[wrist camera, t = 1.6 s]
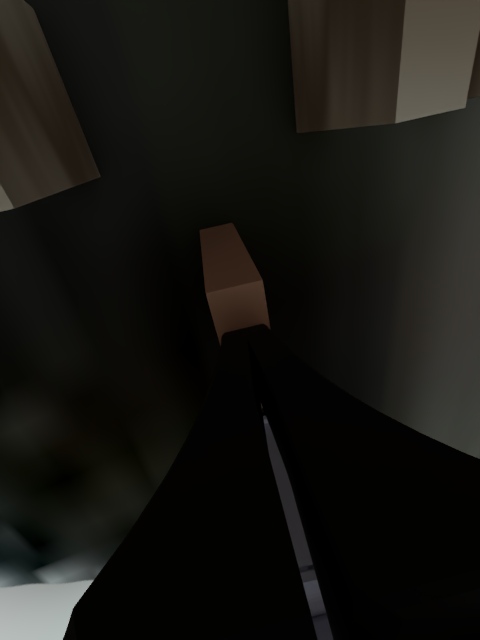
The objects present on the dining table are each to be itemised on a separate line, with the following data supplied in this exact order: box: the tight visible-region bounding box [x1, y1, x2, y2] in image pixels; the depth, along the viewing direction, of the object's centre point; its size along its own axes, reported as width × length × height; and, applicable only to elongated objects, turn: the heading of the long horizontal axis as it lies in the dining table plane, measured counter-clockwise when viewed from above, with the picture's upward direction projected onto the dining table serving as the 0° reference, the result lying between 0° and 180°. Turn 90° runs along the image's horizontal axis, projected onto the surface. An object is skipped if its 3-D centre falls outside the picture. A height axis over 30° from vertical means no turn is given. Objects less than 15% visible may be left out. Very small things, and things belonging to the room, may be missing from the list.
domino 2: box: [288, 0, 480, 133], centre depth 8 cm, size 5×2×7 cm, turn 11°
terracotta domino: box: [199, 223, 270, 408], centre depth 12 cm, size 5×2×7 cm, turn 11°
